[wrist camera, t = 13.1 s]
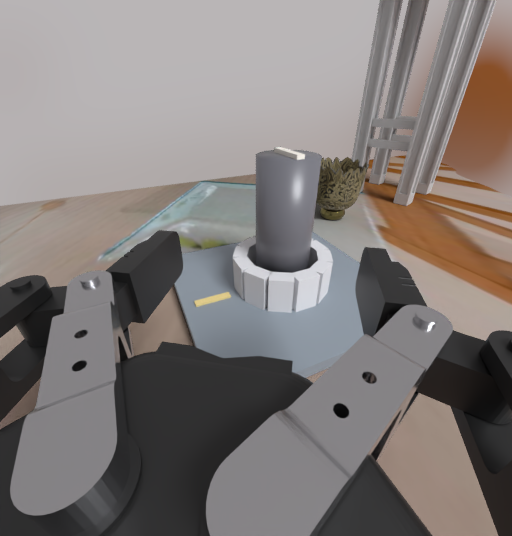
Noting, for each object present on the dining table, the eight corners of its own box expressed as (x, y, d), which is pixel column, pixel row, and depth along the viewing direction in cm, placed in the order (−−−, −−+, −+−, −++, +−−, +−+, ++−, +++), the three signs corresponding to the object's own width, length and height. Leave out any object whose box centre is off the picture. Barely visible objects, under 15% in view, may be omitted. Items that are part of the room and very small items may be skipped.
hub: (167, 265, 30) (160, 231, 27) (307, 235, 36) (310, 206, 34) (218, 415, 16) (212, 370, 14) (431, 323, 22) (450, 283, 20)
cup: (298, 210, 44) (303, 157, 39) (339, 206, 45) (348, 155, 41) (321, 229, 38) (329, 169, 33) (367, 223, 39) (381, 165, 35)
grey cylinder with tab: (248, 275, 26) (245, 148, 20) (289, 264, 28) (299, 144, 22) (269, 303, 23) (275, 159, 17) (316, 289, 24) (336, 153, 18)
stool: (369, 177, 62) (419, -51, 43) (445, 192, 52) (553, -93, 33) (330, 191, 53) (372, -90, 34) (414, 212, 43) (536, -162, 24)
